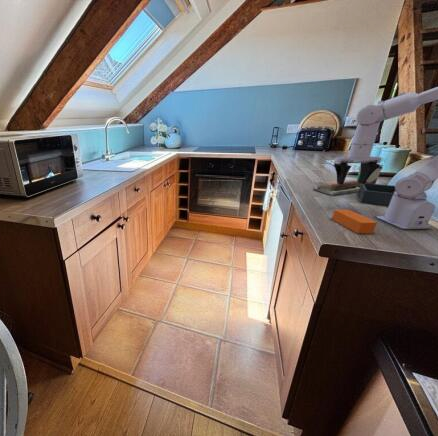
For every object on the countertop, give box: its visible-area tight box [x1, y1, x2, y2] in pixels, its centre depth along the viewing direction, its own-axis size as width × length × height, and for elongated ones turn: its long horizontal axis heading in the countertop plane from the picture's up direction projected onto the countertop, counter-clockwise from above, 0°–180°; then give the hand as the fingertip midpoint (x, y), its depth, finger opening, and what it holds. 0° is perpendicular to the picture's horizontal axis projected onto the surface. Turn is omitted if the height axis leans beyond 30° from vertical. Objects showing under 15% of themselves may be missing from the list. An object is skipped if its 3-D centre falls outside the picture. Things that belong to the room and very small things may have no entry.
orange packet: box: [331, 209, 378, 235], centre depth 76 cm, size 11×4×4 cm, turn 0°
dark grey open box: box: [357, 183, 396, 207], centre depth 98 cm, size 15×12×5 cm
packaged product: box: [312, 178, 360, 196], centre depth 111 cm, size 18×5×10 cm
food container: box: [356, 164, 384, 188], centre depth 117 cm, size 12×6×10 cm, turn 113°
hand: (350, 183), depth 87 cm, fingers open, 7 cm apart
